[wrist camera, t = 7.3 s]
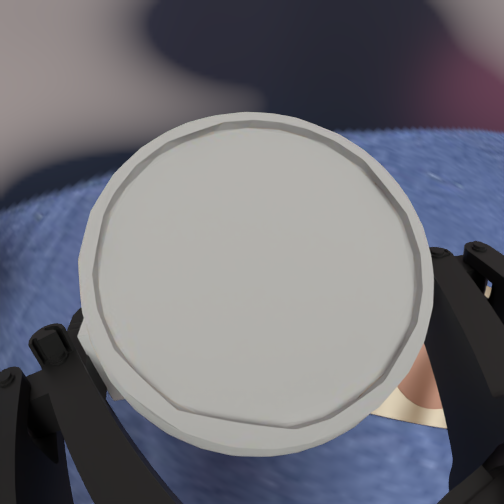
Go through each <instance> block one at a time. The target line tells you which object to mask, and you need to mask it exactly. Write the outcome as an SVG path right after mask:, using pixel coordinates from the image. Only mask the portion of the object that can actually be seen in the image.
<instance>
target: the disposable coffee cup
mask: <svg viewBox="0 0 504 504" xmlns="http://www.w3.org/2000/svg"><path fill="white" fill-rule="evenodd" d="M78 265H79V282H80V295H81V306H82V314H83V317H84V319H85V322H86V326H87V330H88V335H89V339H90V343H91V345H92V347H93V349H94V351H95V353H96V355H97V357H98V359H99V361H100V363H101V365H102V367H103V369H104V371H105V372H106V374H107V376H108V378H109V380H110V381H111V383H112V384H113V385H114V386H115V387H116V389H117V390H118V391H119V392H120V393H121V394H122V396H123V397H124V398H125V399H126V400H127V401H128V402H129V404H130V405H131V406H132V407H133V408H134V409H135V410H136V411H137V412H138V413H140V414H141V415H142V416H144V417H145V418H146V419H148V420H149V421H150V422H152V423H153V424H154V425H156V426H157V427H159V428H160V429H161V430H163V431H164V432H166V433H167V434H169V435H171V436H173V437H176V438H178V439H180V440H182V441H185V442H187V443H189V444H192V445H194V446H196V447H199V448H201V449H205V450H209V451H214V452H218V453H223V454H227V455H232V456H254V457H272V456H279V455H285V454H291V453H297V452H300V451H304V450H307V449H310V448H313V447H316V446H318V445H321V444H324V443H326V442H328V441H330V440H332V439H334V438H336V437H337V436H339V435H341V434H343V433H345V432H347V431H349V430H350V429H352V428H354V427H355V426H356V425H357V424H359V423H360V422H361V421H362V420H363V419H364V418H366V417H367V416H368V415H369V414H370V413H371V412H373V411H374V410H376V409H377V408H379V407H380V406H381V404H382V403H383V402H384V401H385V400H386V399H387V398H388V397H389V395H390V394H391V393H392V392H393V391H394V390H395V388H396V387H397V386H398V385H399V384H400V383H401V381H402V380H403V379H404V378H405V376H406V375H407V374H408V373H409V371H410V369H411V367H412V365H413V363H414V361H415V359H416V357H417V355H418V353H419V351H420V349H421V347H422V345H423V343H424V341H425V337H426V333H427V330H428V325H429V321H430V317H431V313H432V308H433V293H434V274H433V265H432V258H431V253H430V250H429V246H428V242H427V239H426V236H425V232H424V229H423V226H422V224H421V222H420V220H419V218H418V216H417V214H416V212H415V210H414V208H413V206H412V204H411V202H410V200H409V199H408V197H407V196H406V194H405V193H404V191H403V190H402V189H401V187H400V186H399V184H398V183H397V182H396V181H395V180H394V179H393V177H392V176H391V175H390V174H389V173H388V172H387V171H386V169H385V168H384V167H383V166H382V165H381V164H380V163H378V162H377V161H376V160H375V159H374V158H373V157H371V156H370V155H369V154H368V153H367V152H366V151H364V150H363V149H361V148H360V147H358V146H357V145H355V144H354V143H352V142H351V141H349V140H347V139H346V138H344V137H343V136H341V135H339V134H337V133H334V132H332V131H330V130H327V129H325V128H322V127H319V126H317V125H314V124H312V123H309V122H306V121H303V120H301V119H298V118H295V117H289V116H283V115H278V114H272V113H256V112H240V113H232V114H223V115H217V116H210V117H206V118H203V119H199V120H196V121H192V122H188V123H186V124H183V125H181V126H179V127H176V128H174V129H172V130H170V131H168V132H166V133H164V134H163V135H161V136H159V137H157V138H156V139H154V140H153V141H151V142H150V143H148V144H146V145H145V146H143V147H142V148H140V149H139V150H138V151H137V152H136V153H135V154H134V155H133V156H132V157H131V158H130V159H129V160H128V161H127V162H125V163H124V164H123V165H122V166H121V167H120V168H119V169H118V170H117V171H116V172H115V173H114V174H113V176H112V178H111V179H110V181H109V182H108V184H107V185H106V187H105V189H104V190H103V192H102V193H101V195H100V197H99V198H98V200H97V201H96V203H95V205H94V207H93V208H92V210H91V212H90V216H89V219H88V223H87V227H86V230H85V234H84V238H83V242H82V246H81V250H80V254H79V259H78Z"/></svg>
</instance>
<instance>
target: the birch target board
mask: <svg viewBox="0 0 504 504" xmlns="http://www.w3.org/2000/svg"><path fill="white" fill-rule="evenodd" d="M490 293H491V288H490V287H488V286H487V287H486V291H485V296H486V297H487V298H489V296H490ZM370 414H373V415H378V416H382V417H386V418H391V419H395V420H400V421H405V422H410V423H415V424H421V425H426V426H432V427H438V428H444V429H447V425H446V421H445V416H444V412H443V408H442V404H441V400H440V396H439V392H438V388H437V385H436V381H435V378H434V374H433V371H432V367H431V364H430V361H429V357H428V354H427V351H426V348H425V345H424V343H423V345H422V347H421V349H420V351H419V353H418V355H417V357H416V359H415V361H414V363H413V365H412V367H411V369H410V371H409V373H408V374H407V375H406V376H405V378H404V379H403V380H402V381H401V383H400V384H399V385H398V386H397V387H396V388H395V390H394V391H393V392H392V393H391V394H390V395H389V397H388V398H387V399H386V400H385V401H384V402H383V403H382V404H381V406H380V407H379V408H377V409H376V410H374V411H373V412H371V413H370Z"/></svg>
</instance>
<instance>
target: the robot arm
mask: <svg viewBox="0 0 504 504" xmlns="http://www.w3.org/2000/svg"><path fill="white" fill-rule="evenodd" d="M429 250H430V253H431V258H432V265H433V274H434V293H433V308H432V313H431V317H430V321H429V325H428V330H427V333H426V337H425V341H424V345H425V348H426V351H427V354H428V357H429V361H430V364H431V367H432V371H433V374H434V378H435V381H436V385H437V388H438V392H439V396H440V400H441V404H442V408H443V412H444V416H445V421H446V425H447V430H448V435H449V440H450V445H451V450H452V457H453V463H452V468H451V472H450V475H449V492H448V493H447V494H446V495H445V496H444V497H443V498H442V499H441V500H440V501H439V502H438V503H437V504H504V255H502V254H501V253H499V252H498V251H496V250H495V249H493V248H492V247H490V246H489V245H487V244H484V243H482V242H479V241H478V242H477V241H474V242H469V243H466V244H465V246H464V254H463V255H460V256H454V255H453V254H452V253H451V252H450V251H448V250H447V249H444V248H439V247H429ZM488 280H489V281H490V282H491V283H492V288H491V293H490V296H489V298H487V297H486V296H485V291H486V287H487V282H488ZM67 330H68V331H66V329H65V327H64V326H63V325H62V324H58V323H56V324H50V325H47V326H45V327H43V328H41V329H39V330H38V331H37V332H36V333H34V334H33V335H32V337H31V338H30V340H29V344H28V345H29V347H30V349H31V351H32V352H33V354H34V356H35V357H36V359H37V361H38V362H39V364H40V366H41V368H42V370H41V371H39V372H36V373H34V374H31V375H29V376H25V375H24V373H23V372H22V370H21V369H20V368H19V367H9V368H7V369H4V370H2V372H0V504H74V502H73V497H72V492H71V487H70V481H69V475H68V468H67V461H66V453H65V444H64V440H65V442H66V445H67V447H68V449H69V452H70V454H71V457H72V459H73V461H74V463H75V466H76V468H77V470H78V472H79V474H80V476H81V478H82V480H83V482H84V484H85V486H86V488H87V490H88V492H89V494H90V496H91V498H92V500H93V502H94V503H95V504H183V503H182V502H181V501H180V500H179V499H178V497H177V496H176V495H175V494H174V493H173V492H172V491H171V489H170V488H169V487H168V486H167V485H166V483H165V482H164V481H163V480H162V479H161V477H160V476H159V475H158V474H157V472H156V471H155V470H154V469H153V467H152V466H151V465H150V463H149V462H148V461H147V460H146V458H145V457H144V455H143V454H142V453H141V451H140V450H139V449H138V447H137V446H136V444H135V443H134V442H133V440H132V439H131V437H130V436H129V434H128V433H127V431H126V430H125V428H124V427H123V425H122V424H121V422H120V421H119V419H118V418H117V416H116V415H115V413H114V411H113V410H112V408H111V407H110V405H109V404H108V402H107V400H106V392H107V391H108V392H109V394H110V395H111V397H112V398H113V400H114V401H116V400H122V399H125V398H124V397H123V396H122V394H121V393H120V392H119V391H118V390H117V389H116V387H115V386H114V385H113V384H112V383H111V381H110V380H109V378H108V376H107V374H106V372H105V371H104V369H103V367H102V365H101V363H100V361H99V359H98V357H97V355H96V353H95V351H94V349H93V347H92V345H91V343H90V339H89V335H88V330H87V326H86V322H85V319H84V317H83V314H82V308H80V309H79V310H78V311H77V312H76V313H75V314H74V315H73V317H72V320H71V322H70V325H69V327H68V329H67Z"/></svg>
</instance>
